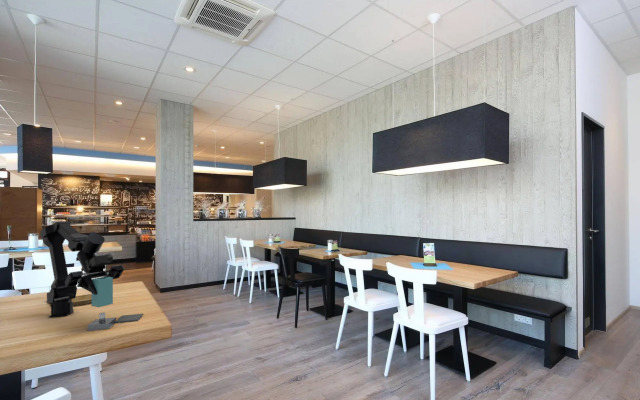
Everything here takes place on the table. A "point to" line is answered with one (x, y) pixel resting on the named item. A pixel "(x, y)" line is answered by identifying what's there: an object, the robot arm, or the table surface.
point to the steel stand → (101, 323)
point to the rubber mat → (129, 318)
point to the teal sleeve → (103, 291)
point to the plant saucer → (82, 300)
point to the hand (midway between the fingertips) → (104, 292)
